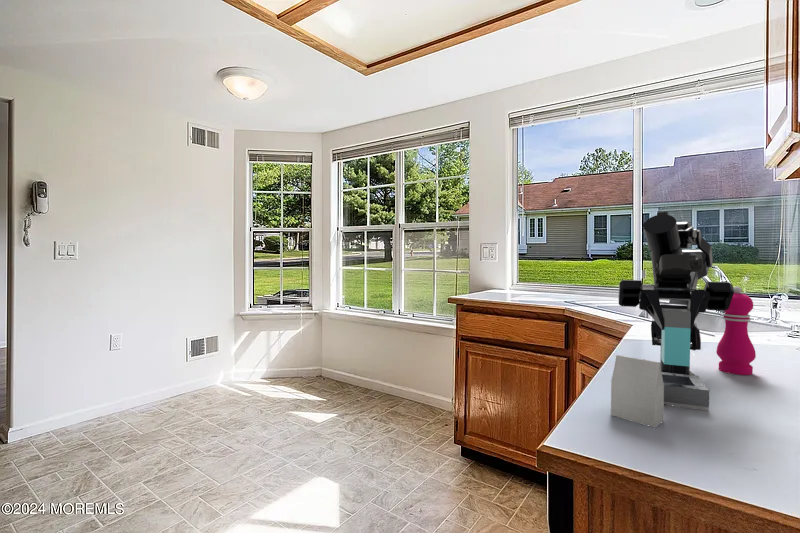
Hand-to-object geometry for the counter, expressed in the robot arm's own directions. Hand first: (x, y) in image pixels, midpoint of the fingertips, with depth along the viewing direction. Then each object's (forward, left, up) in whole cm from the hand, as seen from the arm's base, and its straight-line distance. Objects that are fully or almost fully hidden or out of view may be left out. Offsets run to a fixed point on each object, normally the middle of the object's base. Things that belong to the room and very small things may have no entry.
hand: (676, 329), depth 79 cm
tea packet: (+12, -9, -14) cm, 20 cm away
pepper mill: (-28, +20, -14) cm, 37 cm away
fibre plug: (-1, 0, -7) cm, 7 cm away
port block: (-2, 0, -13) cm, 14 cm away
